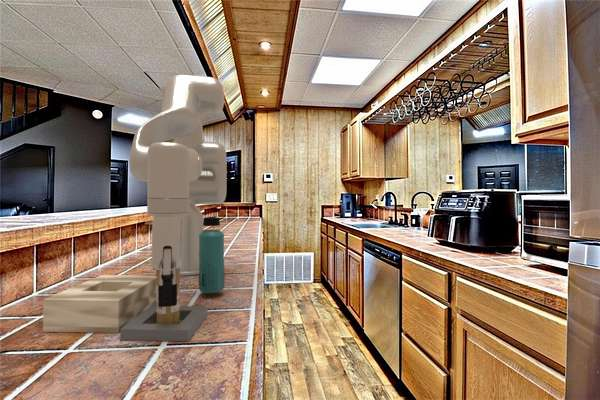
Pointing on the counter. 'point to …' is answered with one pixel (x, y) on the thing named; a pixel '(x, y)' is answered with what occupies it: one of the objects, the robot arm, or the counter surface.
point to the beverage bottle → (211, 258)
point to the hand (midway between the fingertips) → (168, 300)
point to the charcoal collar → (164, 325)
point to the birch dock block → (99, 304)
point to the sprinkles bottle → (170, 312)
